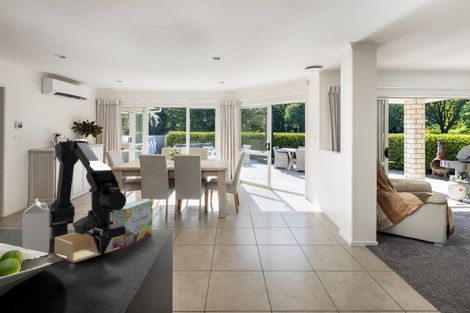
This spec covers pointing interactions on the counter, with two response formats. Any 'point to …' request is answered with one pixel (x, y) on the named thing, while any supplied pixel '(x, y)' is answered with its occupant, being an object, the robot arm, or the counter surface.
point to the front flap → (95, 255)
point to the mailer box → (75, 246)
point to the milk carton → (36, 227)
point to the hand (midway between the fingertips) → (101, 253)
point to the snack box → (133, 222)
